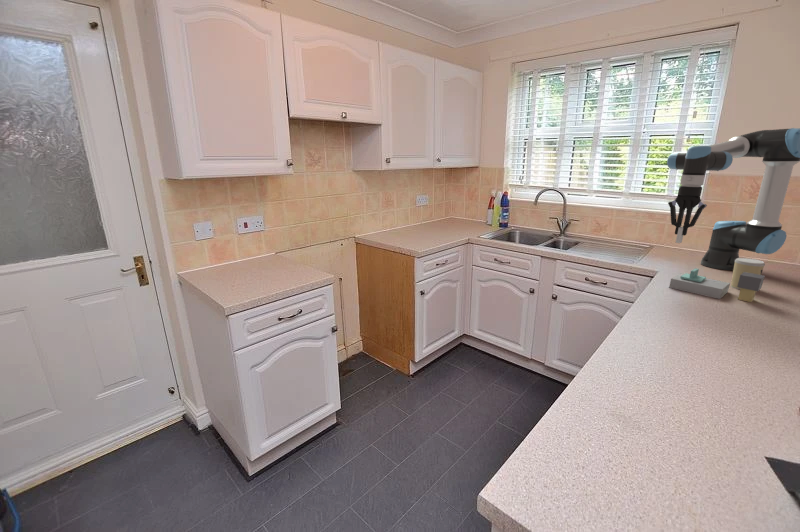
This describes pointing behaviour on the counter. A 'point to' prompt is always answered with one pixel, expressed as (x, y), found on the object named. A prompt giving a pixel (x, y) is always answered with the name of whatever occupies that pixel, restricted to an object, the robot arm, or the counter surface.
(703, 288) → the socket plate
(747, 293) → the plug
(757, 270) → the coffee cup
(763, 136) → the robot arm
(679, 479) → the counter surface
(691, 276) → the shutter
